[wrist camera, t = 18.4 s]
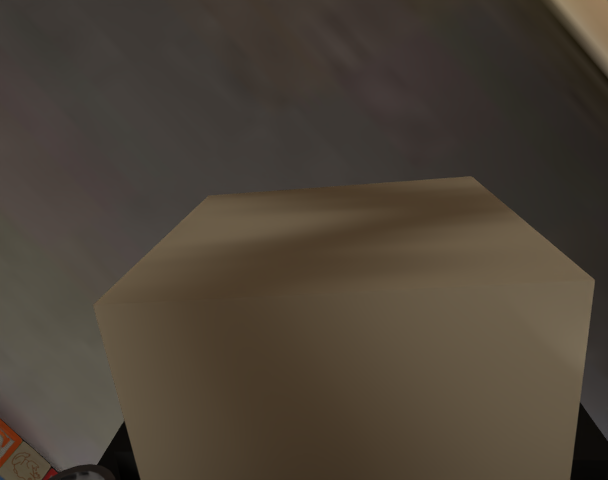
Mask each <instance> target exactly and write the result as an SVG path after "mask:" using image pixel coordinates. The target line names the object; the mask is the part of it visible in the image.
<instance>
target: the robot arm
mask: <svg viewBox="0 0 608 480" xmlns="http://www.w3.org/2000/svg"><path fill="white" fill-rule="evenodd" d="M48 480H141V479H140V476H139V472H138V468H137V465H136V461H135V457H134V454H133V450H132V446H131V443H130V439H129V435H128V431H127V428H126V424H125V420H124V422H123V424H122V425H121V427H120V428H119V430H118V432H117V433H116V435H115V437H114V438H113V440H112V441H111V443H110V445H109V446H108V448H107V449H106V451H105V453H104V454H103V456H102V458H101V459H100V461H99V462H98V464H97V465H93V464H88V465H80V466H75V467H72V468H69V469H66V470H63V471H62V472H60V473H58V474H56V475H54V476H52V477H50V478H49V479H48ZM570 480H608V441H607V440H606V438H605V437H604V435H603V434H602V433H601V431H600V430H599V428H598V427H597V426H596V424H595V423H594V421H593V420H592V418H591V417H590V416H589V414H588V413H587V411H586V410H585V409H584V407H583V406H582V404H581V403H580V404H579V412H578V420H577V428H576V436H575V444H574V452H573V460H572V468H571V476H570Z"/></svg>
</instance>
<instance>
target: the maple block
mask: <svg viewBox="0 0 608 480" xmlns="http://www.w3.org/2000/svg"><path fill="white" fill-rule="evenodd" d="M594 284H595V280H594V279H593V278H592V277H591V276H589V275H588V274H587V273H586V272H585V271H584V270H582V269H581V268H580V267H579V266H578V265H576V264H575V263H574V262H573V261H572V260H570V259H569V258H568V257H567V256H566V255H564V254H563V253H562V252H561V251H560V250H559V249H557V248H556V247H555V246H554V245H553V244H551V243H550V242H549V241H548V240H547V239H545V238H544V237H543V236H542V235H541V234H539V233H538V232H537V231H536V230H535V229H534V228H532V227H531V226H530V225H529V224H528V223H526V222H525V221H524V220H523V219H522V218H520V217H519V216H518V215H517V214H516V213H514V212H513V211H512V210H511V209H510V208H508V207H507V206H506V205H505V204H504V203H503V202H501V201H500V200H499V199H498V198H497V197H495V196H494V195H493V194H492V193H491V192H489V191H488V190H487V189H486V188H485V187H483V186H482V185H481V184H480V183H479V182H478V181H476V180H475V179H474V178H473V177H472V176H471V177H457V178H444V179H430V180H416V181H403V182H389V183H375V184H362V185H348V186H334V187H321V188H307V189H293V190H280V191H266V192H253V193H239V194H225V195H212V196H208V197H207V198H206V199H205V200H204V201H202V202H201V203H200V204H199V205H198V206H197V207H196V208H195V209H194V210H193V211H192V212H191V213H190V214H189V215H188V216H187V217H186V218H184V219H183V220H182V221H181V222H180V223H179V224H178V225H177V226H176V227H175V228H174V229H173V230H172V231H171V232H170V233H169V234H168V235H167V236H165V237H164V238H163V239H162V240H161V241H160V242H159V243H158V244H157V245H156V246H155V247H154V248H153V249H152V250H151V251H150V252H149V253H147V254H146V255H145V256H144V257H143V258H142V259H141V260H140V261H139V262H138V263H137V264H136V265H135V266H134V267H133V268H132V269H131V270H129V271H128V272H127V273H126V274H125V275H124V276H123V277H122V278H121V279H120V280H119V281H118V282H117V283H116V284H115V285H114V286H113V287H112V288H110V289H109V290H108V291H107V292H106V293H105V294H104V295H103V296H102V297H101V298H100V299H99V300H98V301H97V302H96V303H95V304H94V305H93V307H94V310H95V314H96V318H97V321H98V325H99V329H100V332H101V336H102V340H103V343H104V347H105V351H106V354H107V358H108V362H109V365H110V369H111V373H112V376H113V380H114V384H115V387H116V391H117V395H118V398H119V402H120V406H121V409H122V413H123V417H124V420H125V424H126V428H127V431H128V435H129V439H130V443H131V446H132V450H133V454H134V457H135V461H136V465H137V468H138V472H139V476H140V479H141V480H570V476H571V468H572V460H573V452H574V444H575V436H576V428H577V420H578V412H579V404H580V396H581V388H582V380H583V372H584V364H585V356H586V348H587V340H588V332H589V324H590V316H591V308H592V300H593V292H594Z"/></svg>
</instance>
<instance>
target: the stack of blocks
mask: <svg viewBox="0 0 608 480" xmlns="http://www.w3.org/2000/svg"><path fill="white" fill-rule="evenodd" d="M56 474H58V473H57V472H56V471H55V470H54V469H52V468H51V465H50V464H49V463H48V462H47V461H46V460H45V459H44V458H43V457H41V456H40V455H39V454H38V453H37V452H36V451H35V450H34V449H33V448H32V447H31V446H29V445H28V444H27V443H26V442H24V441H22V439H21V438H20V437H19V436H18V435H17V434H16V433H15V432H14V431H13V430H12V429H11V428H10V427H9V426H7V425H6V424H5V423H4V422H3V421H2V420H1V419H0V480H48V479H49V478H50V477H52V476H54V475H56Z"/></svg>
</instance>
